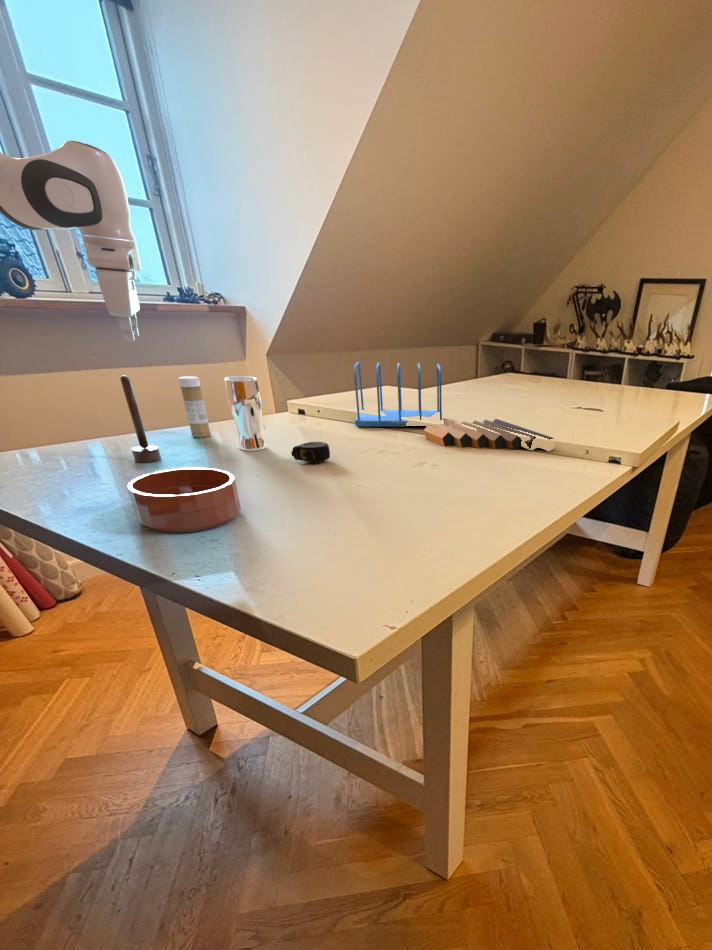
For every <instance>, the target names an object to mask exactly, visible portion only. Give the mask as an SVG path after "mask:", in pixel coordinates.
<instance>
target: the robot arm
mask: <svg viewBox="0 0 712 950" xmlns="http://www.w3.org/2000/svg"><path fill="white" fill-rule="evenodd" d="M0 213H1V214H2V215H3V216H4V217H5V218H6V219H7V220H9V221H10V222H12V223H13V224H15V225H16V226H18V227H20V228H23V229H26V230H30V231H43V230H44V231H45V230H61V231H62V230H63V231H65V230H72V229H75V228H77V229H78V230H79V232H80V235H81V239H82V243H83V247H84V251H85V255H86V259H87V263H88V266H90V267H91V268H94V271H95V275H96V279H97V282H98V285H99V288H100V292H101V294H102V298H103V300H104V304H105V305H106V306H105V307H106V309H107V311H108V313H109V315H110V316H112V317H116V320H117V323H118V326H119V328H120V331H121V334H122V335H121V336H122V339H123V341H124V342H126V343H134V342H135V340H136V338H138V337H139V336H140V333H139V328H138V317H137V313H138V312H139V311H140V309H141V307H140V300H139V297H138V293H137V287H136V284H135V281H137V280H138V278H137V276H136V275H137V274H136V273H137V272H136V271H139V272H141V271H143V268H142V261H141V258H140V253H139V248H138V243H137V239H136V237H135V234H134V231H133V229H132V225H131V209H130V204H129V200H128V195H127V191H126V188H125V184H124V181H123V177H122V174H121V172H120V169H119V167H118V165H117V163H116V161H115V160H114V158H113V157H111V156H110V155H109V154H108V153H107V152H106V151H104V150H102V149H100V148H98V147H96V146H93V145H91V144H88V143H84V142H81V141H76V140H66V141H64V142H63V144H62V145H61V146H59V147H58V148H56V149H53V150H52V151H49V152H46V153H44V154H38V155H35V156H30V157H22V158H21V157H20V158H17V157H13V156H10V155H7V154H5V153H4V152H3V153H2V152H1V151H0Z"/></svg>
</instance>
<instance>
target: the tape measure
mask: <svg viewBox="0 0 712 950" xmlns="http://www.w3.org/2000/svg"><path fill="white" fill-rule="evenodd" d="M290 453H291V456H292V457H293V458H294V460H295V461H303V462H306V463H322V462H325V461H327V460H329V459H330V457H331V451H330V446H329V444H328V443H327V442H324V441H310V442H304V443H301V444H297V445H296V446H294V447H292V450H291V451H290Z"/></svg>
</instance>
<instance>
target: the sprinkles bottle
mask: <svg viewBox="0 0 712 950" xmlns="http://www.w3.org/2000/svg"><path fill="white" fill-rule="evenodd" d="M177 382H178V386H179V387H180V388H179V389H180V390H181V395H182V399H183V400H182V401H183V405H184V409H185V412H186V413H185V414H186V417H187V420H188V421H187V422H188V424H189V428H190V433H191V436H192V437H194V438H207V437H210V436H212V433H211V430H210V426H209V425H210V424H209V420H208V414H207V410H206V406H205V405H206V404H205V401H204V398H203V395H202V394H203V393H202V390H201V381H200V378H199V377H198V376H193V375H191V376H190V375H187V376H185V375H184V376H179V377H177Z"/></svg>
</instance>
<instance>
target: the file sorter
mask: <svg viewBox="0 0 712 950" xmlns="http://www.w3.org/2000/svg"><path fill="white" fill-rule="evenodd" d="M357 369H358V377H357ZM396 370H397V371H396V374H397V375H396V376H397V399H398V401H397V402H398V409H384V406H383V405H384V404H383V387H382V371H381V362H377V364H376V366H375V379H376V380H375V382H376V395H377V396H376V397H377V410H378V416H374V415H367V414H361V413H359V411H360V403H361V410H365V409H364V407H365V406H364V396H363V383H362V372H361V363H360V361H357V362H356V363H355V364H354V366H353V377H354V388H355V403H356V411H357V412H356V414H357V415H356V418H355V420H354V426H355V427H358V428H361V427H362V428H364V427H365V428H369V427H376V428H377V427H378V428H379V427H380V428H407V427H406V423H407V422H408V421H406V420H403V419H401V417H412V416H414V417H415V416H420V420H421V417H422V416H424V417H425V416H426V417H431V416H432V415H434V414H435V413H437V412H440V420H442V415H443V412H442V409H443V407H442V404H443V403H442V368H441V366H440V364H439V363H437V364H436V410H422V380H421V379H422V375H421V363H417V393H418V394H417V396H418V409H417V410H415V409H414V410H411V409H409V410H408V409H403V404H402V381H401V380H402V379H401V363H400V362H397V367H396ZM358 379H359V389H358ZM359 392H360V403H359ZM380 410H381V411H382V412H384V414H386V415H385V416H381V415H380Z"/></svg>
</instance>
